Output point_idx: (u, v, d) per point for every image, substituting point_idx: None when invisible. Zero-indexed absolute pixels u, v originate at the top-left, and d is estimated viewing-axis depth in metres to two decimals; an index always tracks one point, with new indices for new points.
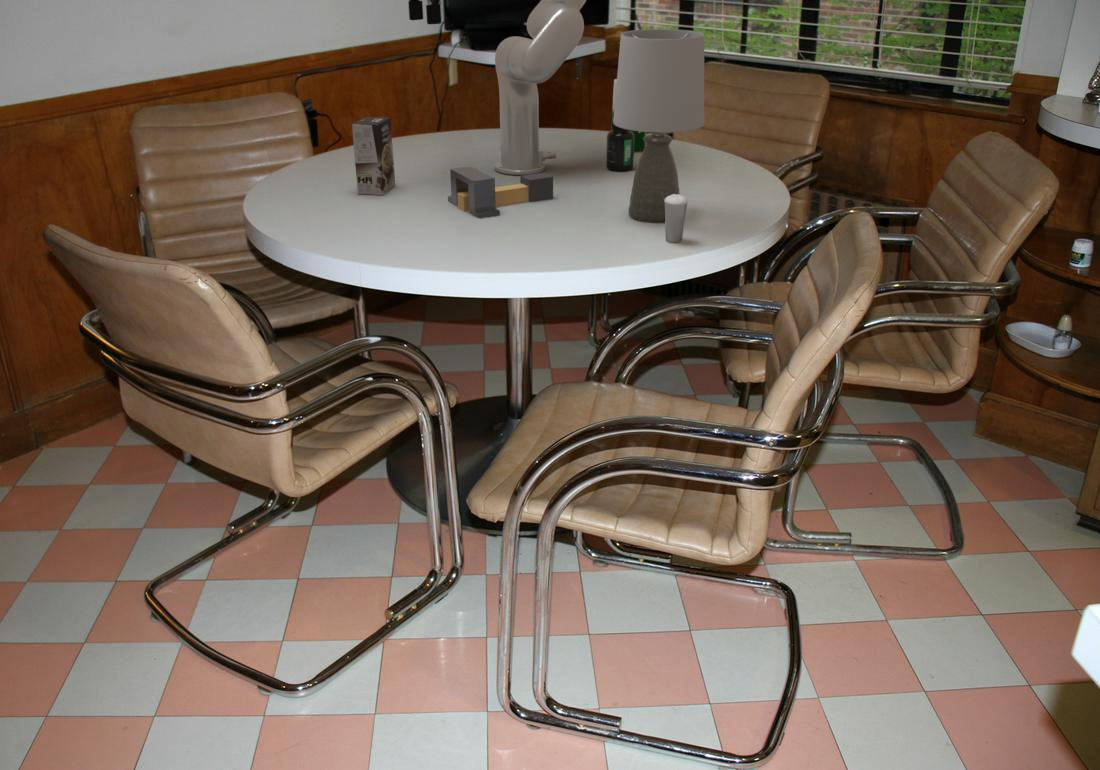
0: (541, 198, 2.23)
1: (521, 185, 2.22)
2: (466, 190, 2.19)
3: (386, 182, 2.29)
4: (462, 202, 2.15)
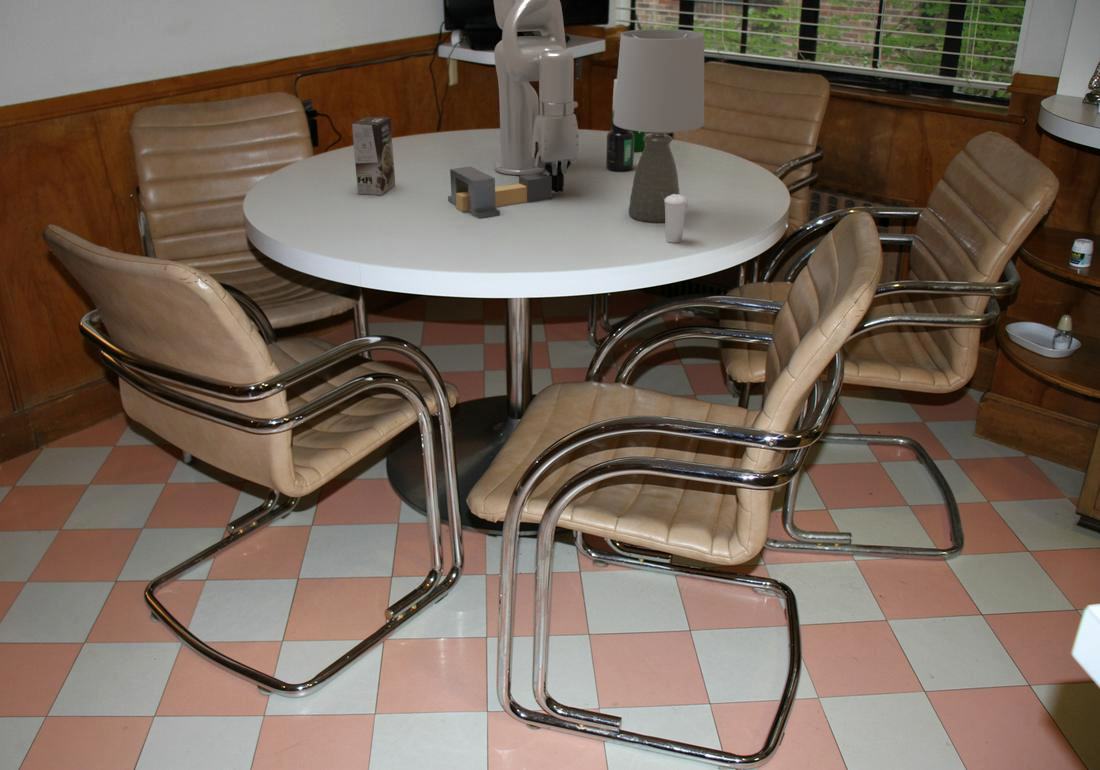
0: (540, 198, 2.23)
1: (519, 185, 2.22)
2: (466, 190, 2.19)
3: (386, 182, 2.29)
4: (461, 202, 2.14)
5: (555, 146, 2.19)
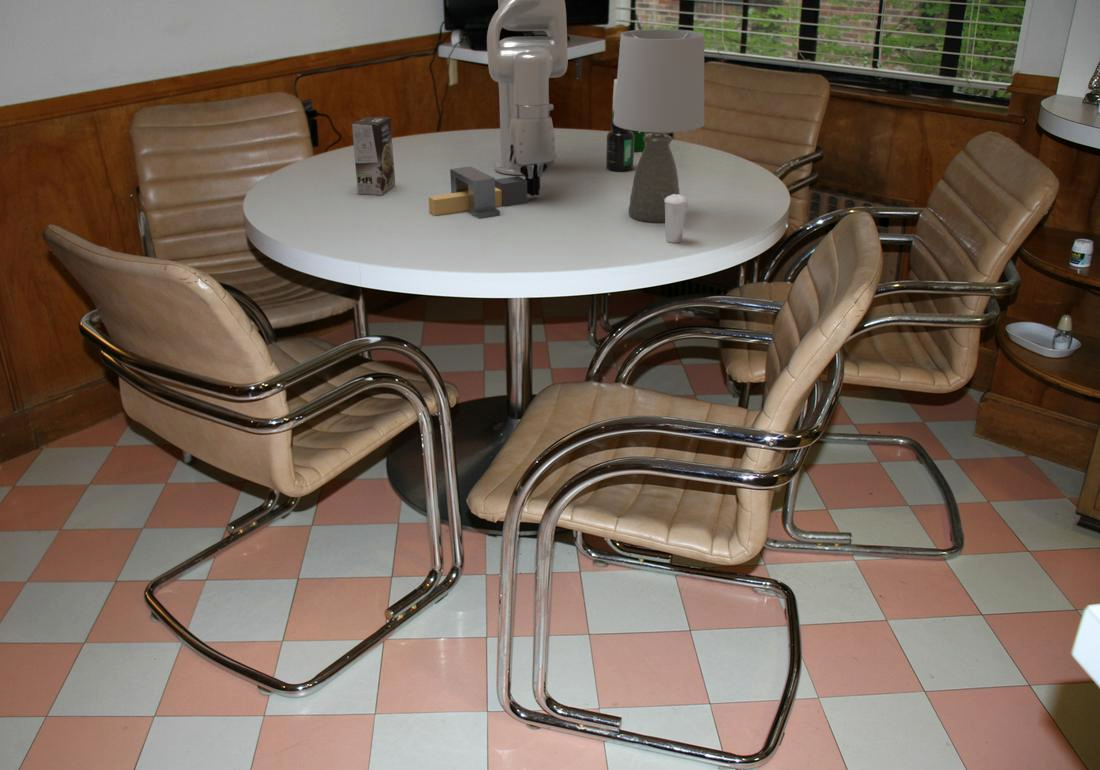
0: (515, 202, 2.20)
1: None
2: (466, 190, 2.19)
3: (386, 182, 2.29)
4: (433, 206, 2.12)
5: (530, 149, 2.17)
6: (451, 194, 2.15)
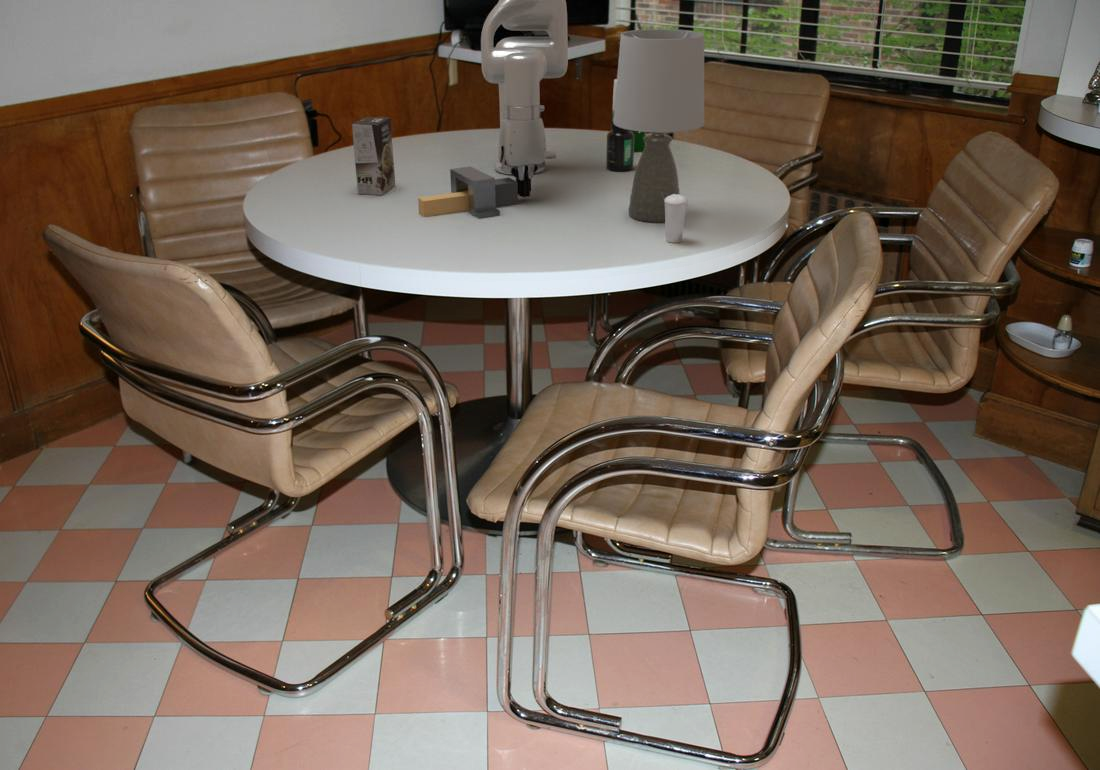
0: (505, 204, 2.19)
1: None
2: (466, 190, 2.19)
3: (386, 182, 2.29)
4: (422, 207, 2.11)
5: (521, 150, 2.16)
6: (441, 195, 2.14)
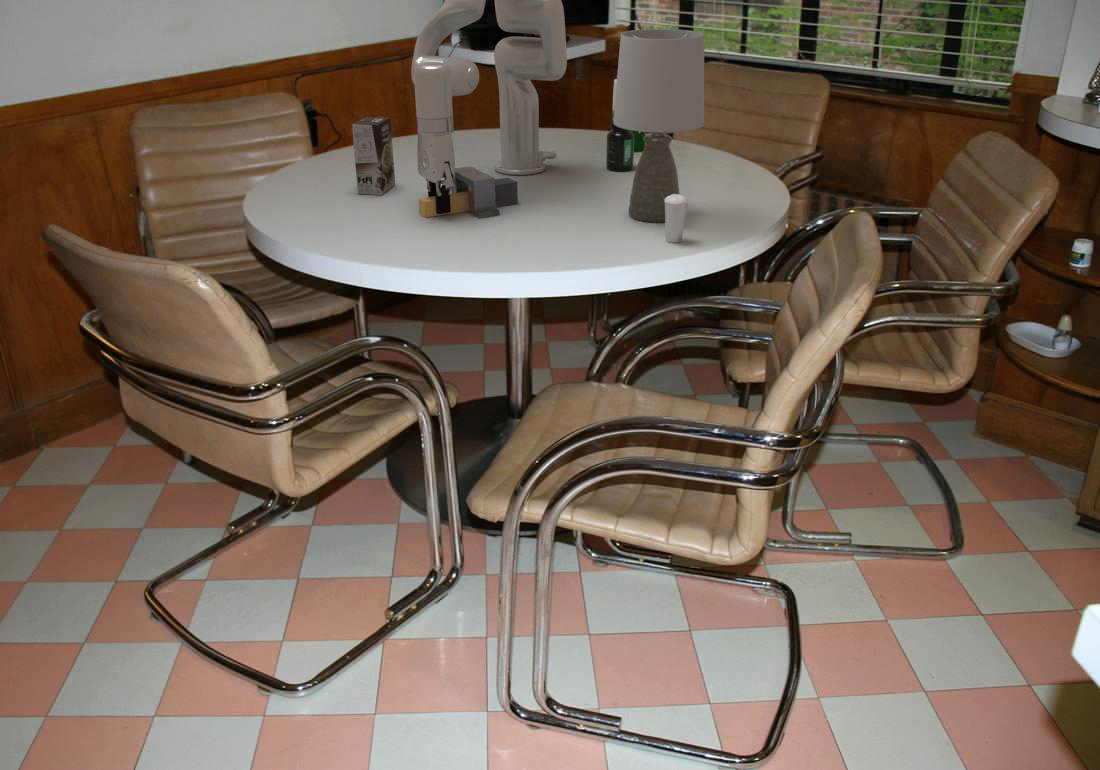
0: (505, 204, 2.19)
1: None
2: (466, 190, 2.19)
3: (386, 182, 2.29)
4: (424, 208, 2.11)
5: None
6: None
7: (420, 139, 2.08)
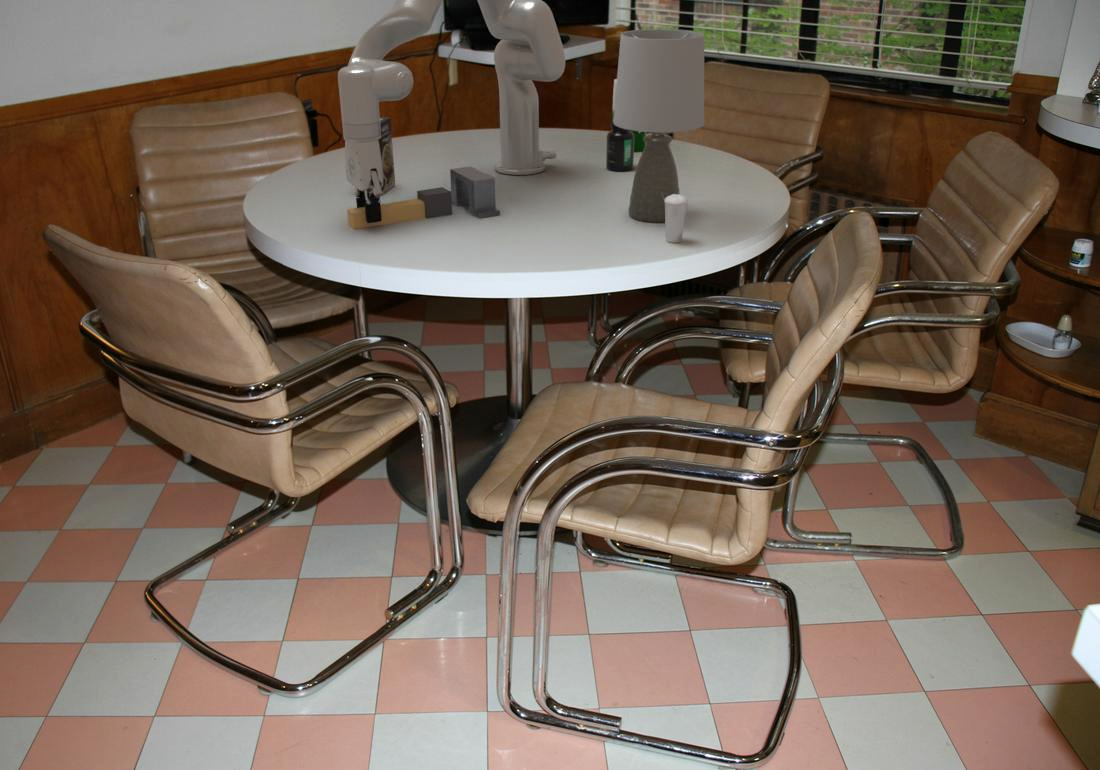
0: (439, 214, 2.12)
1: (417, 201, 2.11)
2: (466, 190, 2.19)
3: (386, 182, 2.29)
4: (352, 219, 2.04)
5: None
6: None
7: (347, 145, 2.00)
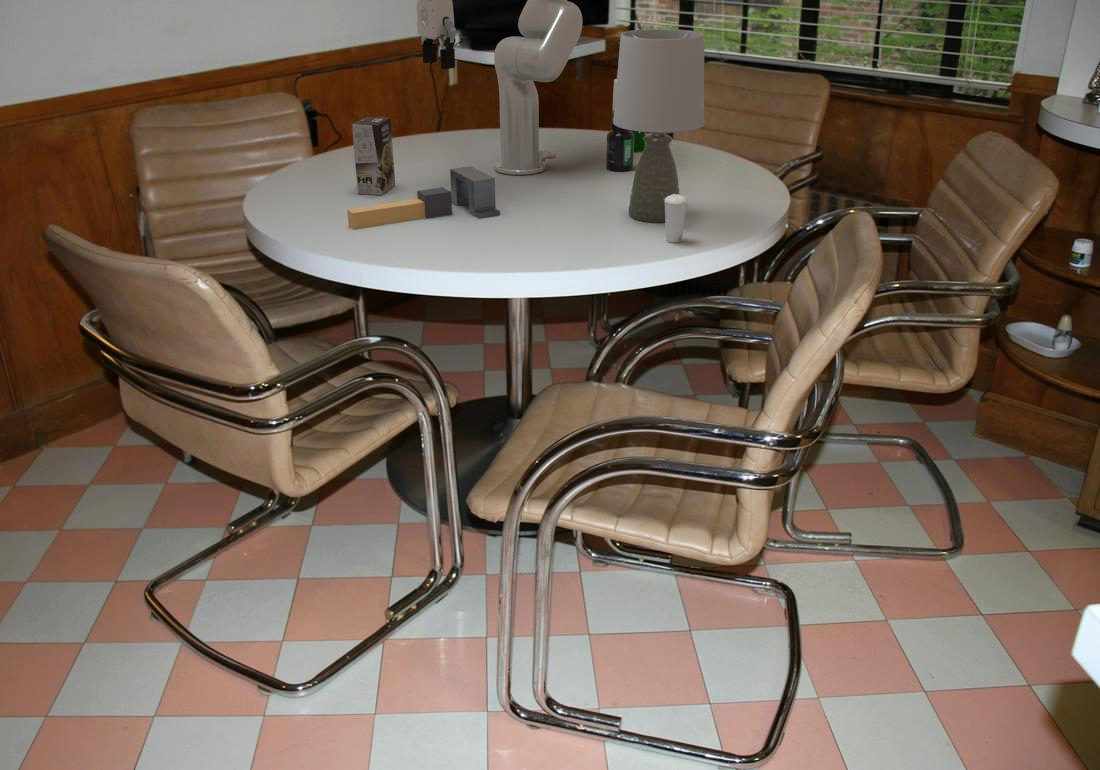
0: (439, 214, 2.12)
1: (417, 201, 2.11)
2: (466, 190, 2.19)
3: (386, 182, 2.29)
4: (352, 219, 2.04)
5: None
6: (371, 207, 2.07)
7: None
